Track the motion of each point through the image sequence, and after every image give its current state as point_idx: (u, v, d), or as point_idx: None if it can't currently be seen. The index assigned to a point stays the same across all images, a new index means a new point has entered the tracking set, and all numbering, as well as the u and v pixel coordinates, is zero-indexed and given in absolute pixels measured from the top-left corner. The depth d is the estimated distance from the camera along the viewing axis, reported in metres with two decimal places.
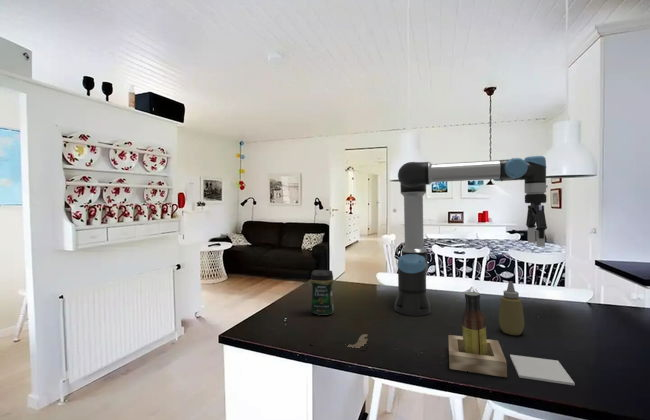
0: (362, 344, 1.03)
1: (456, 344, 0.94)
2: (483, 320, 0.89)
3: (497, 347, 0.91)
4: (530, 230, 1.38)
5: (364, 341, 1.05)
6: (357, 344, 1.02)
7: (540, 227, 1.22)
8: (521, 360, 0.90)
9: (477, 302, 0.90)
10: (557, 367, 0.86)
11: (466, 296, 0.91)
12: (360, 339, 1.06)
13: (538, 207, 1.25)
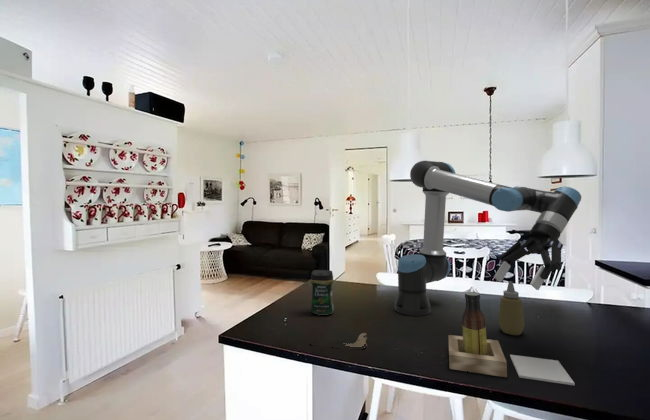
0: (362, 343, 1.04)
1: (456, 344, 0.94)
2: (483, 320, 0.89)
3: (497, 347, 0.91)
4: (505, 265, 1.03)
5: (363, 340, 1.06)
6: (357, 343, 1.03)
7: (556, 264, 0.88)
8: (521, 360, 0.90)
9: (477, 302, 0.90)
10: (557, 367, 0.86)
11: (466, 296, 0.91)
12: (359, 338, 1.06)
13: (558, 242, 0.92)
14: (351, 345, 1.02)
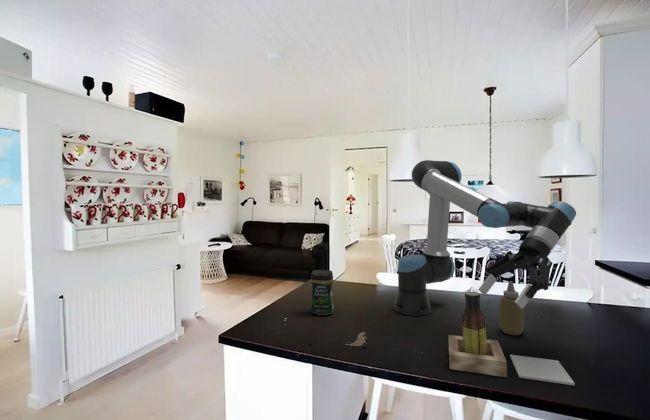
0: (361, 342, 1.04)
1: (456, 344, 0.94)
2: (483, 320, 0.89)
3: (497, 347, 0.91)
4: (491, 278, 0.99)
5: (363, 339, 1.06)
6: (357, 342, 1.04)
7: (543, 283, 0.84)
8: (521, 360, 0.90)
9: (477, 302, 0.90)
10: (557, 367, 0.86)
11: (466, 296, 0.91)
12: (359, 337, 1.07)
13: (548, 260, 0.88)
14: (351, 344, 1.02)
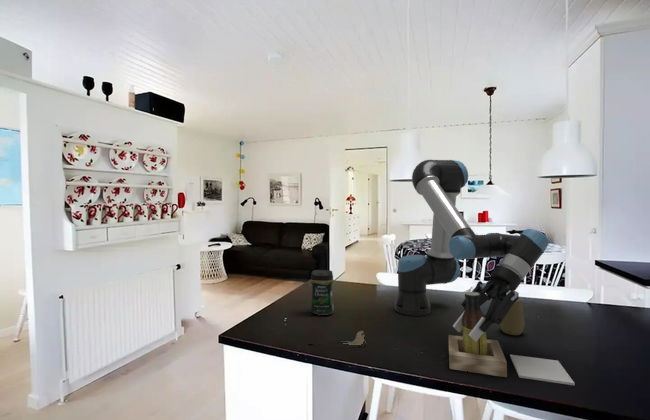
0: (361, 340, 1.05)
1: (456, 344, 0.94)
2: None
3: (497, 347, 0.91)
4: None
5: (362, 337, 1.07)
6: (356, 341, 1.05)
7: (495, 318, 0.86)
8: (521, 360, 0.90)
9: (477, 302, 0.90)
10: (557, 367, 0.86)
11: (466, 296, 0.91)
12: (358, 336, 1.08)
13: (513, 295, 0.87)
14: (351, 343, 1.03)
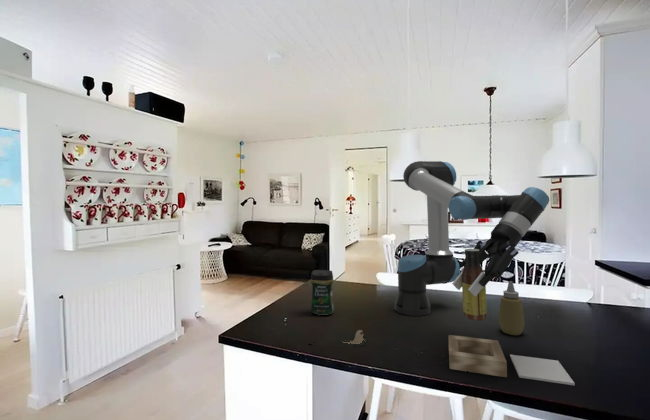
0: (360, 339, 1.06)
1: (456, 344, 0.94)
2: None
3: (497, 347, 0.91)
4: None
5: (361, 336, 1.08)
6: (356, 340, 1.06)
7: (495, 272, 0.85)
8: (521, 360, 0.90)
9: (477, 258, 0.89)
10: (557, 367, 0.86)
11: (466, 252, 0.91)
12: (357, 335, 1.09)
13: (513, 250, 0.87)
14: (351, 342, 1.04)
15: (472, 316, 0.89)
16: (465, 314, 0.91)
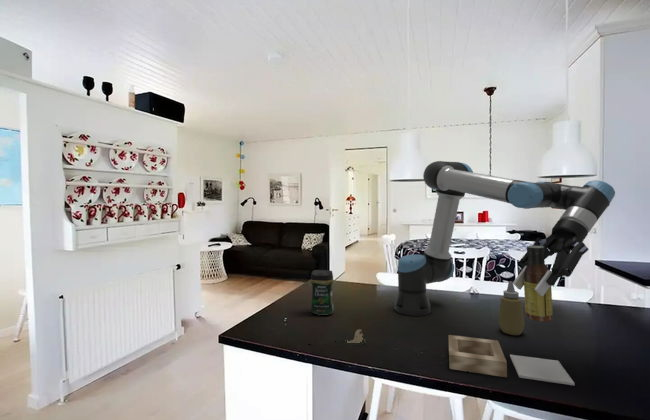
0: (360, 339, 1.07)
1: (456, 344, 0.94)
2: None
3: (497, 347, 0.91)
4: None
5: (360, 336, 1.09)
6: (355, 339, 1.06)
7: (565, 270, 0.80)
8: (521, 360, 0.90)
9: (542, 255, 0.84)
10: (557, 367, 0.86)
11: (529, 249, 0.85)
12: (356, 334, 1.09)
13: (582, 246, 0.81)
14: (350, 342, 1.04)
15: (537, 317, 0.84)
16: (529, 315, 0.86)
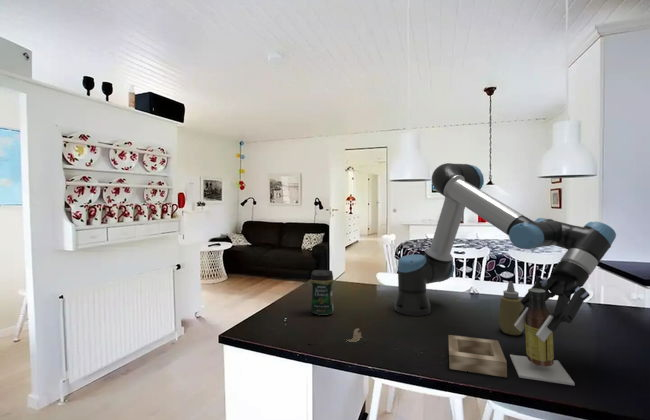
0: (359, 338, 1.08)
1: (456, 344, 0.94)
2: None
3: (497, 347, 0.91)
4: None
5: (359, 335, 1.10)
6: (354, 338, 1.07)
7: (566, 316, 0.80)
8: (521, 360, 0.90)
9: (543, 299, 0.84)
10: (557, 367, 0.86)
11: (531, 293, 0.85)
12: (355, 333, 1.10)
13: (584, 292, 0.81)
14: (350, 341, 1.05)
15: (539, 362, 0.84)
16: (530, 359, 0.86)
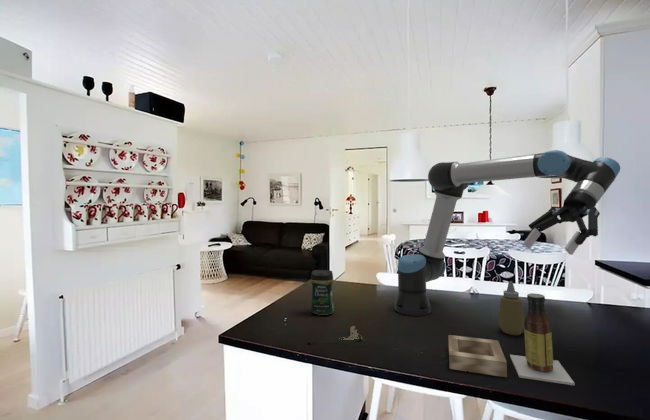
0: (356, 335, 1.10)
1: (456, 344, 0.94)
2: (549, 324, 0.84)
3: (497, 347, 0.91)
4: (535, 232, 1.03)
5: (356, 332, 1.12)
6: (352, 335, 1.09)
7: (593, 229, 0.87)
8: (521, 360, 0.90)
9: (542, 305, 0.84)
10: (557, 367, 0.86)
11: (529, 298, 0.86)
12: (352, 331, 1.12)
13: (595, 210, 0.92)
14: (348, 338, 1.07)
15: (538, 367, 0.84)
16: (529, 364, 0.86)
